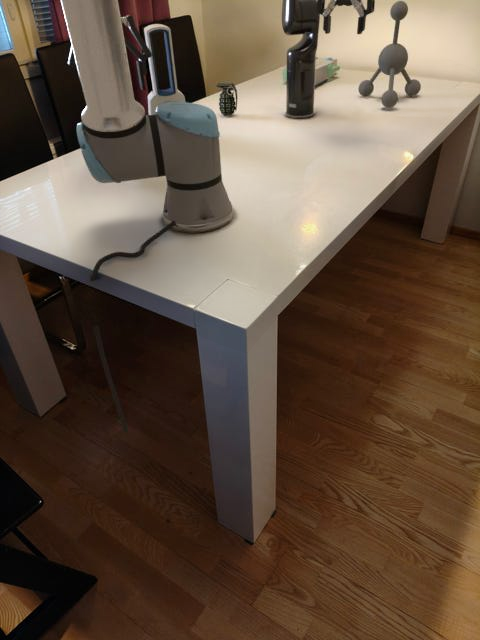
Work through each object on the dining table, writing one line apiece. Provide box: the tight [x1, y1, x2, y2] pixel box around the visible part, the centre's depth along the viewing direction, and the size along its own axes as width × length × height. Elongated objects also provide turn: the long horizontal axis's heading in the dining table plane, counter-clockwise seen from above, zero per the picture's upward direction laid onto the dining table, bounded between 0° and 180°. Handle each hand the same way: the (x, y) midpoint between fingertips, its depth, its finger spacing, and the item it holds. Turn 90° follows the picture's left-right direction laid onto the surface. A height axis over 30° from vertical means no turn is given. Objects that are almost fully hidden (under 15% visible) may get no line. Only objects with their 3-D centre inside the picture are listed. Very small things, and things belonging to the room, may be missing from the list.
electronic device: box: [143, 23, 186, 115], centre depth 146 cm, size 12×8×30 cm, turn 105°
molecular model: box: [358, 0, 422, 109], centre depth 166 cm, size 24×22×30 cm
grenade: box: [215, 82, 238, 117], centre depth 166 cm, size 7×6×10 cm
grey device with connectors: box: [282, 56, 341, 85], centre depth 205 cm, size 26×6×20 cm
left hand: (117, 93), depth 124 cm, fingers open, 13 cm apart
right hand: (343, 33), depth 125 cm, fingers open, 8 cm apart
